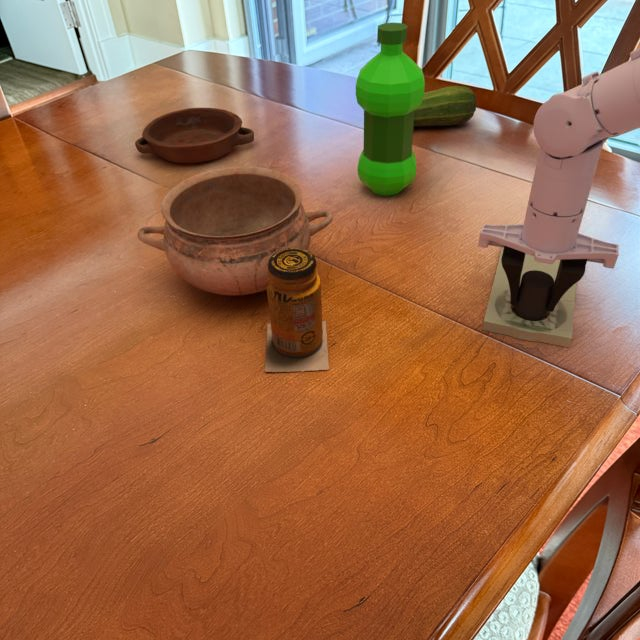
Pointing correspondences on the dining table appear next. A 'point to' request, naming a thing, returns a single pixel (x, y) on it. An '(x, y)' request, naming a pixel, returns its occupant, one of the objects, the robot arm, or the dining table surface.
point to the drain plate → (506, 322)
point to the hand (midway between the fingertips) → (531, 303)
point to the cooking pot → (232, 227)
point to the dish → (194, 135)
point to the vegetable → (445, 107)
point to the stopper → (534, 295)
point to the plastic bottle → (389, 113)
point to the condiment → (295, 314)
